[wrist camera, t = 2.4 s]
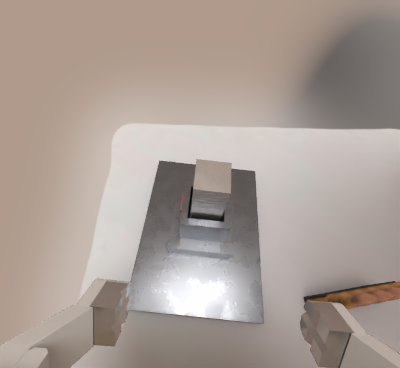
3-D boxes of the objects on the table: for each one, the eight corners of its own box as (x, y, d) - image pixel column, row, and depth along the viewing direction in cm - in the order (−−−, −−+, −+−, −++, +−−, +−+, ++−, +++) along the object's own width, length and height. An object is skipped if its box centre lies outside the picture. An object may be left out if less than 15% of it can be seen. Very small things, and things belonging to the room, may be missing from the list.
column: (191, 214, 34) (196, 158, 22) (214, 217, 34) (231, 162, 22) (189, 236, 32) (192, 189, 20) (213, 239, 32) (231, 193, 20)
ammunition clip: (368, 285, 32) (454, 271, 22) (375, 299, 31) (468, 291, 21) (303, 297, 31) (362, 288, 20) (308, 311, 30) (373, 310, 20)
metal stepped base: (160, 165, 41) (154, 126, 32) (252, 175, 41) (271, 139, 33) (126, 309, 28) (102, 307, 20) (260, 323, 29) (293, 327, 20)
